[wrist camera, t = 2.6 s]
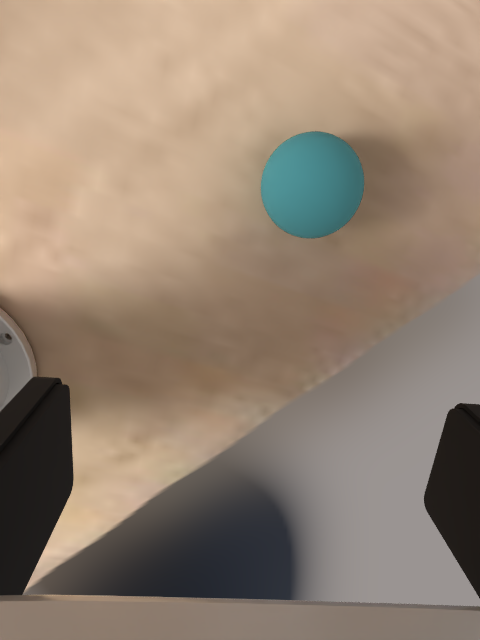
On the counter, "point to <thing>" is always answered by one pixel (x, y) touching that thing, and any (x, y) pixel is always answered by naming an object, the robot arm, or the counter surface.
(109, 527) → the counter surface
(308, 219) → the ball
